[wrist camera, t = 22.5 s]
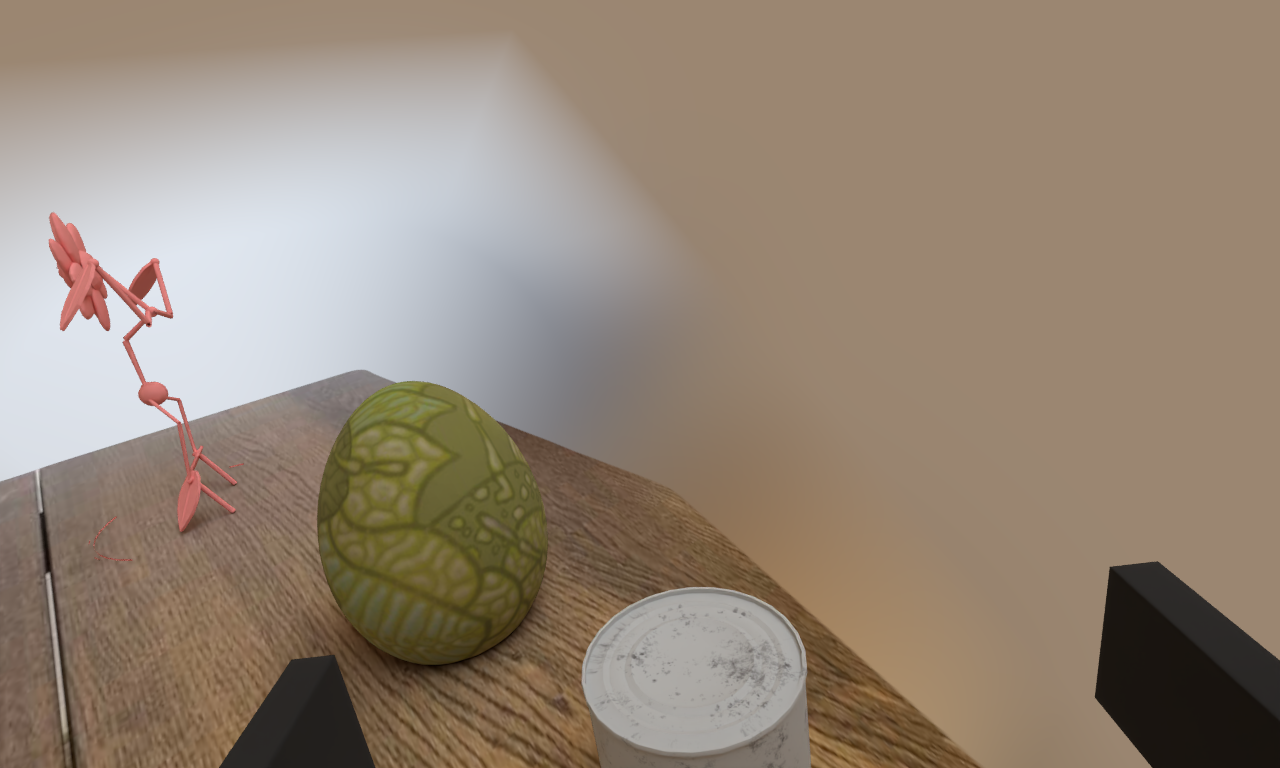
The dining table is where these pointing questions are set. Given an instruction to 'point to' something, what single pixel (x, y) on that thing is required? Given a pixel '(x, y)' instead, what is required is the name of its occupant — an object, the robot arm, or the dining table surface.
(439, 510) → the decorative sculpture
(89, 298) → the figurine
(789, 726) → the grey speckled cylinder
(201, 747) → the dining table surface
